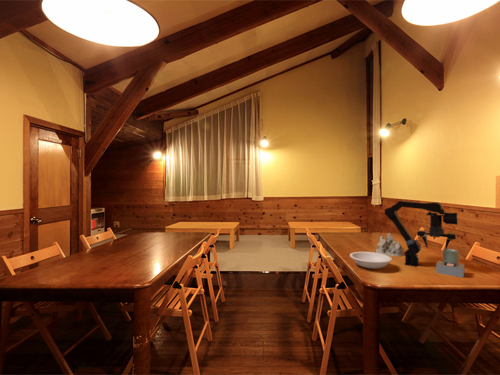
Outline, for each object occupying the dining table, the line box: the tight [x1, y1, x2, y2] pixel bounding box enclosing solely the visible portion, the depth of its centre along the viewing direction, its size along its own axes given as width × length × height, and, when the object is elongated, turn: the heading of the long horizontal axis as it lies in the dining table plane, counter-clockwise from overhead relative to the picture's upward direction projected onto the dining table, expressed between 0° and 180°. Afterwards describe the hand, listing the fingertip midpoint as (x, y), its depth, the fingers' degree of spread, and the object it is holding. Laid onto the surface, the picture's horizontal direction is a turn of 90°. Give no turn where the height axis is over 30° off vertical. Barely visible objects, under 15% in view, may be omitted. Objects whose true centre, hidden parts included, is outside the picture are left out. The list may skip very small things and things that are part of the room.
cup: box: [442, 248, 460, 264], centre depth 158 cm, size 8×8×10 cm
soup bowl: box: [349, 251, 393, 270], centre depth 159 cm, size 24×24×7 cm
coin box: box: [435, 260, 465, 278], centre depth 146 cm, size 12×9×5 cm
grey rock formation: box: [375, 232, 405, 257], centre depth 190 cm, size 16×16×15 cm
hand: (436, 248), depth 154 cm, fingers open, 9 cm apart
